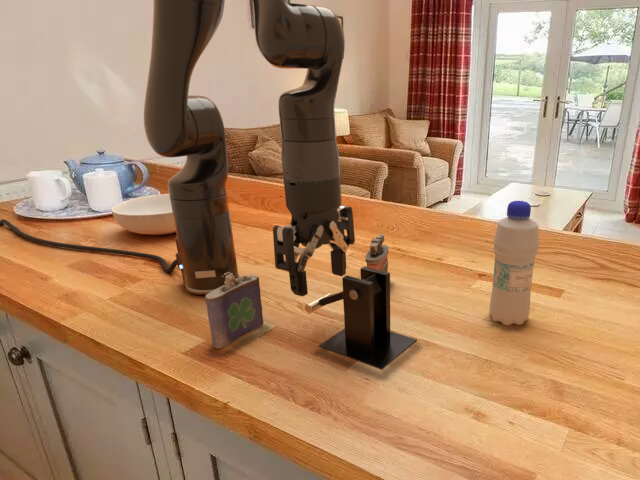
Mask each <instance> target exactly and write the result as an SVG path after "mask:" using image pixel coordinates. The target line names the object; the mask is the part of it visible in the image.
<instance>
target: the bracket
mask: <svg viewBox="0 0 640 480" xmlns="http://www.w3.org/2000/svg"><path fill="white" fill-rule="evenodd" d="M359 271H360V278H358V277H354V276H351V275H344V276H342V278H341V280H342V281H341V282H342V291H343V299H342V301H343V319H344V328H343V329H341V330H340V331H339V332H337V333H335V334H334V335H332V336H331V337H329V338H327V339H326V340H324V341H323V342H321V343H319V345H318V348H322V349H324V350H327V351H330V352H332V353H335V354H337V355H340V356H344V357H346V358H349V359H352V360H355V361H356V362H359V363H362V364H365V365H368V366H371V367H373V368H376V369H379V370H384V369H385V368H386V367H387V366H389V365H390V364H391V363H392V362H394V361H395V360H396V359H397V358H399V357H400V355H402V354H403V353H404V352H406V350H407V349H409V348H410V347H412V346H413V345H414V344H415V343H416V342H417V341H418V339H416V338H413V337H410V336H407V335H404V334H401V333H397V332H394V331H392V330H391V272H385V271H381V270H377V269H373V268H369V267H367V266H363V267H361V268H360V270H359ZM374 274H375V275H376V277H377V280H378V282H379V284H380V287H381V289H382V290H381V291H380V292H378V293H376V294H375V295H373V282H369V281H365V280H362V279H363V278H366V277H369V276H372V275H374Z"/></svg>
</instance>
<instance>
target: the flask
mask: <svg viewBox="0 0 640 480" xmlns="http://www.w3.org/2000/svg"><path fill="white" fill-rule="evenodd" d="M229 273H230V272H227V273H224V275H227V274H229ZM222 277H223V275H222ZM225 277H226V280H225V282H224V283H225V285H223V286H221V287H219V288H217V289H215V290H214V291H212V292H210V293H208V294H207V295H204V299H205V305H206V311H207V317H208V325H209V330H210V336H211V342H212V347H213V348H215V349H222V348H223V349H224V348H225V347H228V346H230V344H232V343H233V342H235V341H236V340H238V339H240V337H242V336H244V335H245V334H247V333H250V332H252V331H254V330H256V329H259V328H261V327H263V326H264V317H263V305H262V298H261V286H260V278H259V277H258V275H253V274H248V275H242V276H241V277H239V278H238V279H236V278H234V277H235V276H233V274H232V273H230V274H229V275H227V276H225Z"/></svg>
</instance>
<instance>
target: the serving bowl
mask: <svg viewBox="0 0 640 480" xmlns="http://www.w3.org/2000/svg"><path fill="white" fill-rule="evenodd" d="M110 211H111V215H112V216H113V219H114V220H115V221H116V222H117V224H118V225H119V226H120V227H122V229H125V230H127V231H128V232H131V233H135V234H140V235H150V236H163V235H171V234H174V233H175V234H176V228H175V223H174V217H173V213H172V207H171V202H170V196H169V193H161V194H150V195H144V196H139V197H134V198H130V199H127V200H124V201H122V202H118V203H116V204H115V205H113V206H112V207H111V208H110Z"/></svg>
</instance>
